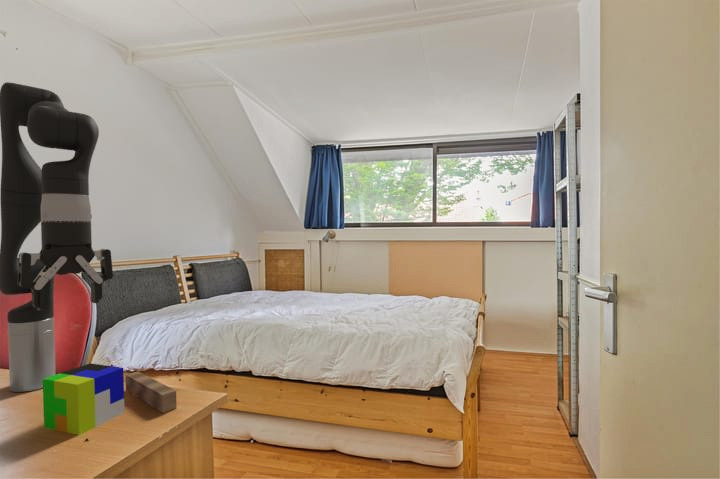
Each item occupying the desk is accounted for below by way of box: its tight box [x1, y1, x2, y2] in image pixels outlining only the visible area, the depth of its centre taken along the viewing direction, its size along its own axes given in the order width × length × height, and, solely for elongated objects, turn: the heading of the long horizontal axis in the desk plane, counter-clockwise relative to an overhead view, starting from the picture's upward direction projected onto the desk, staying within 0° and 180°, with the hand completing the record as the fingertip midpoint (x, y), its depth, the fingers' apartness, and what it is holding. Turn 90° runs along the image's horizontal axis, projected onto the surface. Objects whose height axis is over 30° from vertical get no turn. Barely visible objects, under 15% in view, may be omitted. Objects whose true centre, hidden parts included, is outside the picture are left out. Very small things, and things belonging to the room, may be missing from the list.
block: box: [124, 371, 178, 414], centre depth 95 cm, size 20×3×4 cm, turn 51°
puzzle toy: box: [42, 363, 125, 436], centre depth 84 cm, size 10×10×10 cm
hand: (69, 306), depth 75 cm, fingers open, 8 cm apart
